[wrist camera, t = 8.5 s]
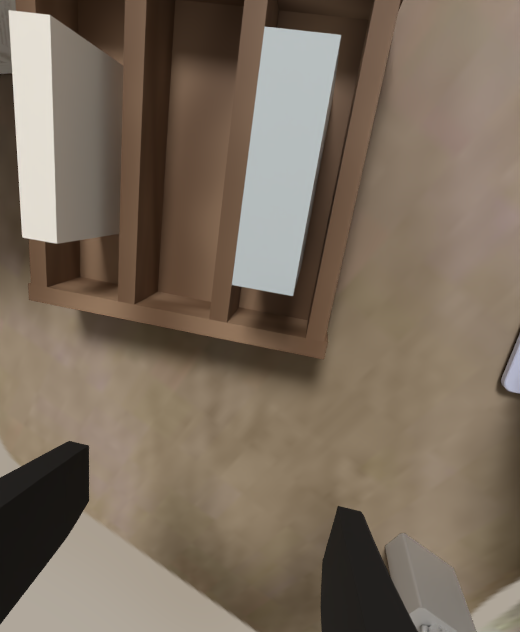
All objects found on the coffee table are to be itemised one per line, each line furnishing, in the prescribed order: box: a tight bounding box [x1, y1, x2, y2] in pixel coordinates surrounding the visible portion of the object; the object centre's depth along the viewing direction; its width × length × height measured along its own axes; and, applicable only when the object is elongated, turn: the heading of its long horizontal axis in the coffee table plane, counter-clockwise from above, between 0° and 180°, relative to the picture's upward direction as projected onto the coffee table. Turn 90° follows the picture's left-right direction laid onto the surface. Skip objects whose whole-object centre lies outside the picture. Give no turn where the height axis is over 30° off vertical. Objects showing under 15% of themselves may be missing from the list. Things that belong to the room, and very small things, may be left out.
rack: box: [15, 0, 403, 359], centre depth 16 cm, size 14×14×4 cm
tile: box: [9, 10, 123, 244], centre depth 15 cm, size 1×7×5 cm, turn 172°
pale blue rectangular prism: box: [232, 27, 341, 296], centre depth 13 cm, size 2×7×6 cm, turn 172°
